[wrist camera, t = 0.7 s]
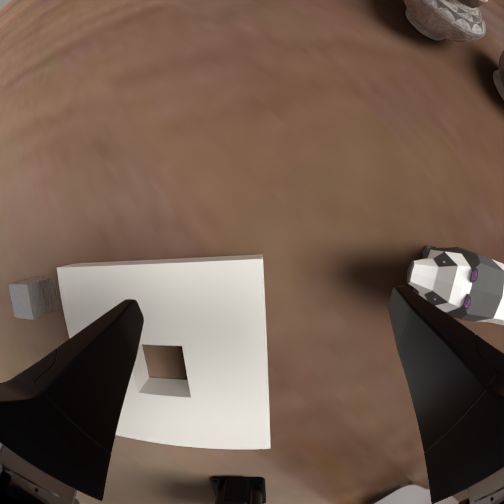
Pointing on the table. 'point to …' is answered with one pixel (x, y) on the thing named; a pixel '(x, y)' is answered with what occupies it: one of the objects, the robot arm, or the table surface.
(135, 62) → the table surface
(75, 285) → the hole block
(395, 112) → the table surface
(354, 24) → the table surface
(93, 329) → the robot arm
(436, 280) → the giant panda
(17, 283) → the short pin
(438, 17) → the pottery
